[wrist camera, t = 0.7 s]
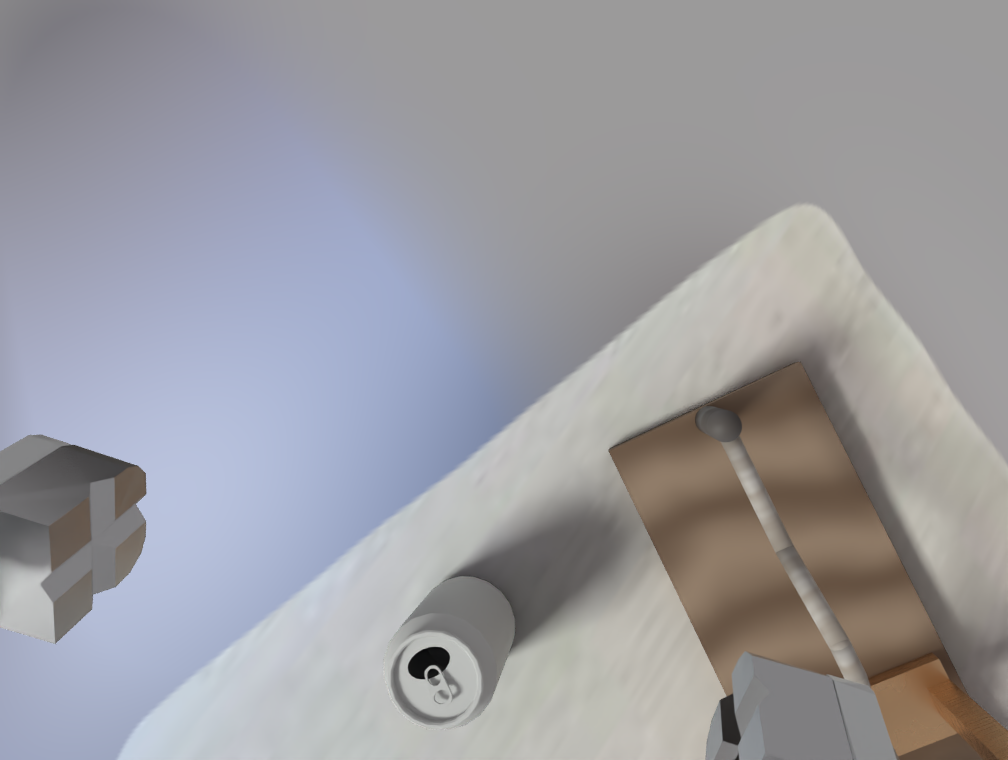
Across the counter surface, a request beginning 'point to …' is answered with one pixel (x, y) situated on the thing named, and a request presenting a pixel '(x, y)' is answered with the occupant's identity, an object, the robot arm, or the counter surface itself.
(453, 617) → the can
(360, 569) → the counter surface
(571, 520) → the counter surface
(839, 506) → the buzz board
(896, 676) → the wooden frame
